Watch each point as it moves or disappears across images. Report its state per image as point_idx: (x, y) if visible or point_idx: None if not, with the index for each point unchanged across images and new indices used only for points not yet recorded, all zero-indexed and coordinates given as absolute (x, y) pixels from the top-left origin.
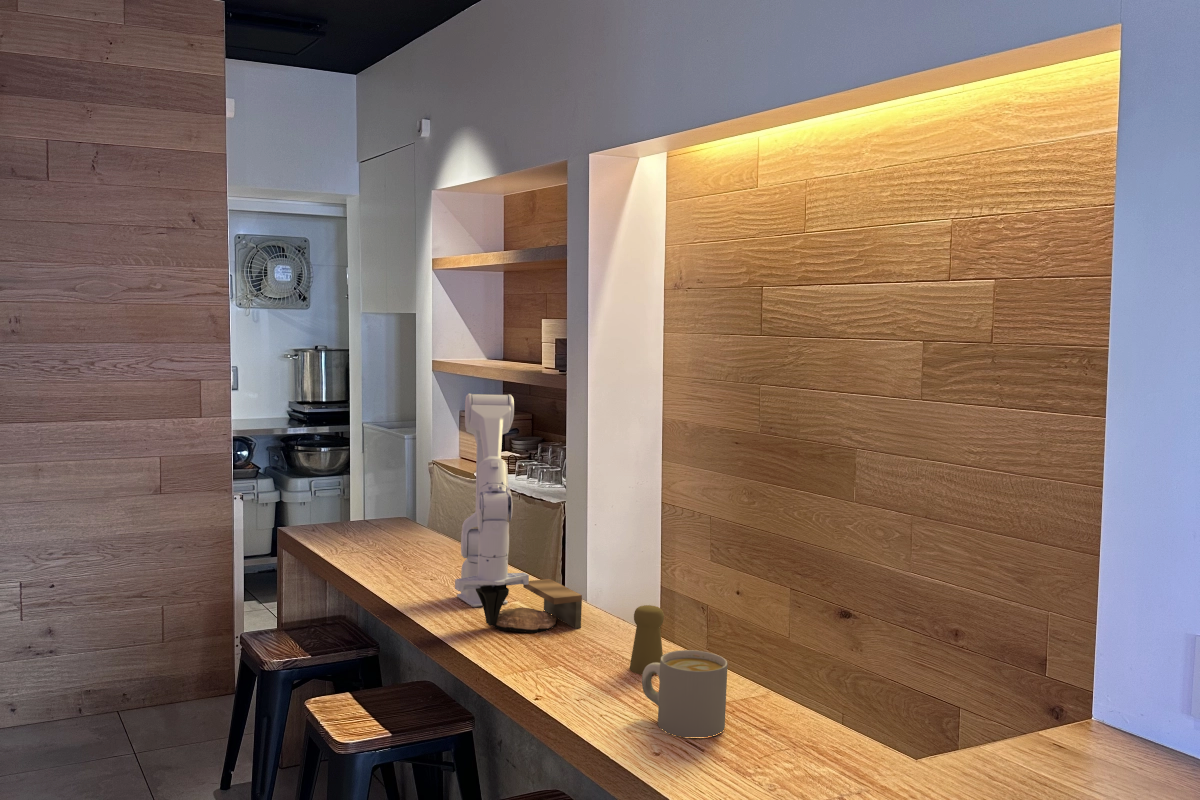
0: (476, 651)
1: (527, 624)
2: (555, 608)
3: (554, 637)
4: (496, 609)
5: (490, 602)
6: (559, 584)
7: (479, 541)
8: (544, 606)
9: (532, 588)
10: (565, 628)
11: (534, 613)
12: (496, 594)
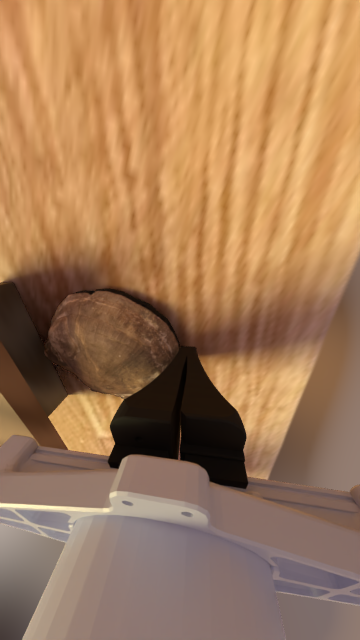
0: (335, 178)
1: (112, 305)
2: (36, 373)
3: (65, 235)
4: (179, 368)
5: (204, 387)
6: None
7: None
8: (60, 399)
9: (41, 432)
10: (35, 294)
11: (77, 338)
12: (183, 407)
